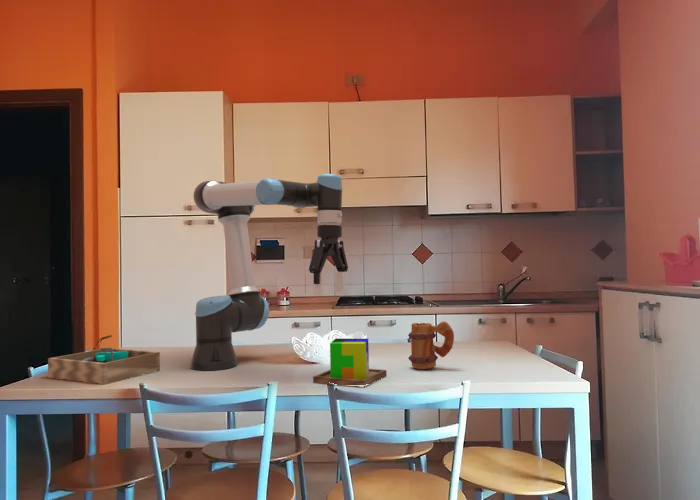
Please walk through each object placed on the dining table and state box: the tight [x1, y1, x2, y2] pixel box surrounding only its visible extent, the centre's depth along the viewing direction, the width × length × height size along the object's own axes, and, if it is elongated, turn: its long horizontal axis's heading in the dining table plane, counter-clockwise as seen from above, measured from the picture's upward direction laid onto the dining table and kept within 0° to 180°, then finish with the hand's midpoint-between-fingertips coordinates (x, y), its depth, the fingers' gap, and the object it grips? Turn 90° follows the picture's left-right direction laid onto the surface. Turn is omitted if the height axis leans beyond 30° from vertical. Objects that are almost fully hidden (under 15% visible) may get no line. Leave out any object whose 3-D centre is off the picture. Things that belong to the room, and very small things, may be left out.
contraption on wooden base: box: [82, 334, 129, 363], centre depth 172 cm, size 14×18×15 cm
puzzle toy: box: [329, 338, 370, 379], centre depth 157 cm, size 10×10×10 cm
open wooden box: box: [47, 348, 161, 385], centre depth 172 cm, size 25×21×6 cm
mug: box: [407, 320, 455, 370], centre depth 170 cm, size 15×8×15 cm, turn 68°
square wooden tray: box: [312, 368, 387, 386], centre depth 157 cm, size 16×16×2 cm
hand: (329, 293), depth 166 cm, fingers open, 13 cm apart
